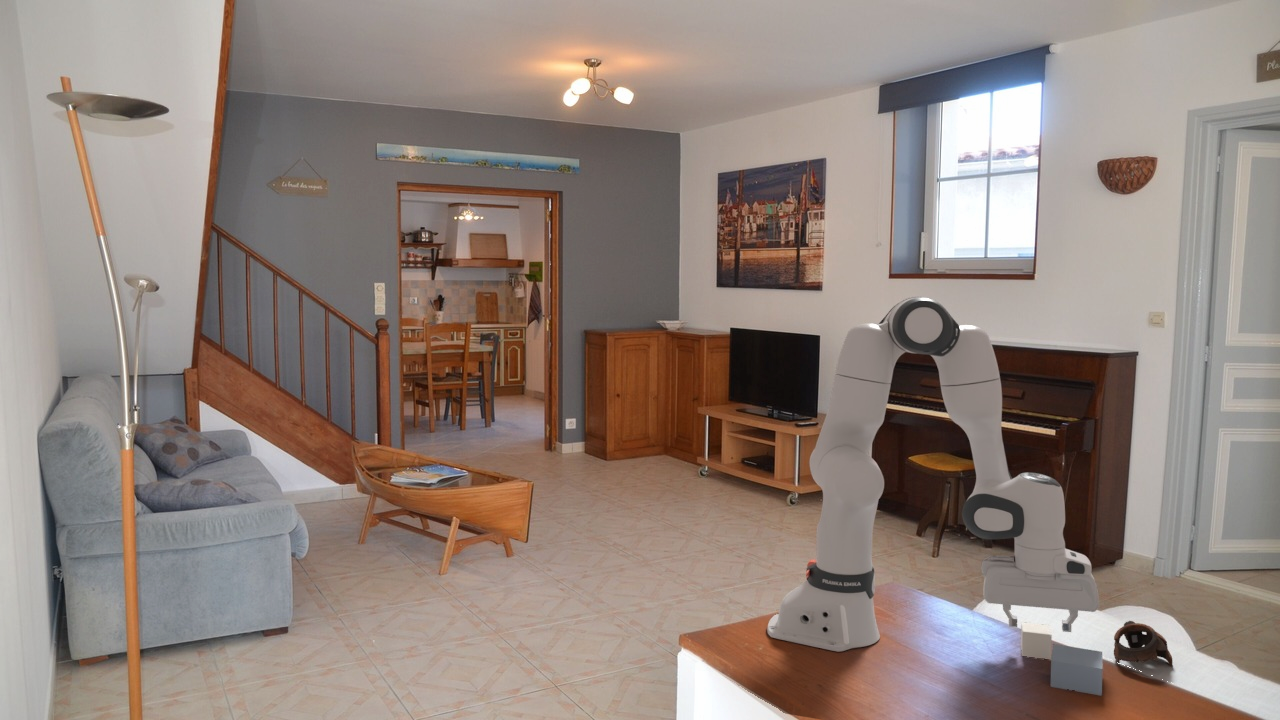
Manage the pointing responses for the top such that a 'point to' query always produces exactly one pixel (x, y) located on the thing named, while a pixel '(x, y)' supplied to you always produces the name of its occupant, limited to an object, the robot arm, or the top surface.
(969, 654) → the top surface
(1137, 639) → the brown hollow ring shell
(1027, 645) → the cream cube
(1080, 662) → the slate block
